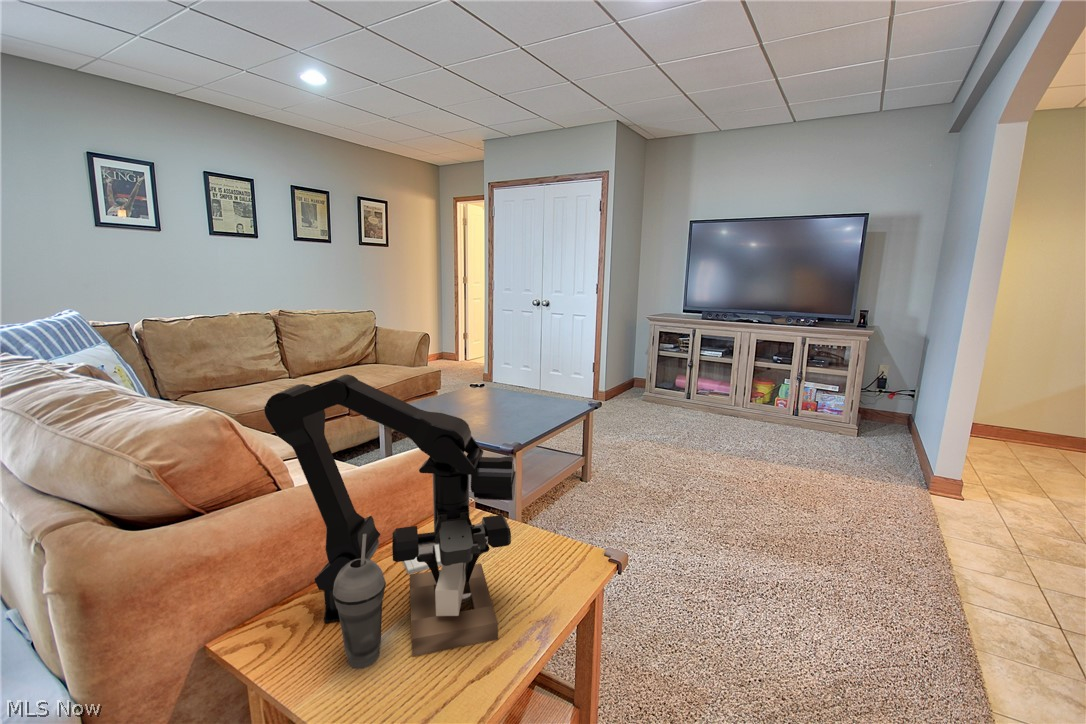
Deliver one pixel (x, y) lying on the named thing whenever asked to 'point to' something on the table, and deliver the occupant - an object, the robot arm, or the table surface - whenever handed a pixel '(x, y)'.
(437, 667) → the table surface
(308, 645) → the table surface
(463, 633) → the brown square frame
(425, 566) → the hard drive
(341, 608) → the beverage cup
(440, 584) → the cream block
